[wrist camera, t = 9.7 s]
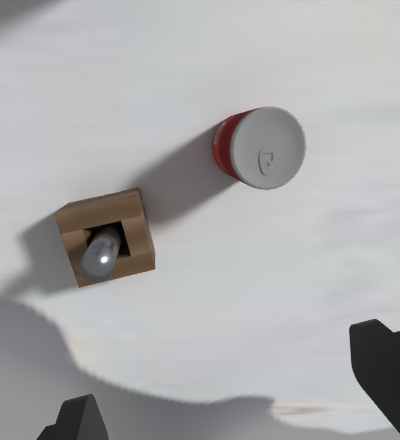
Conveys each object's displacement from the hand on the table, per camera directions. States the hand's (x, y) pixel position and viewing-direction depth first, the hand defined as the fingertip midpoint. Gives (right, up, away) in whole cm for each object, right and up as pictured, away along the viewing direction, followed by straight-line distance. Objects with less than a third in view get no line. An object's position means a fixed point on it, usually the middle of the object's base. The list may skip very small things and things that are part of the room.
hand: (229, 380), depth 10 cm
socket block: (-12, +4, +32) cm, 34 cm away
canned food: (+4, +15, +31) cm, 35 cm away
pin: (-12, +4, +31) cm, 33 cm away
